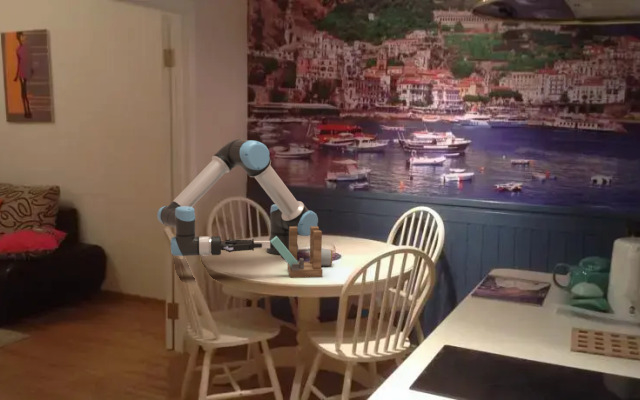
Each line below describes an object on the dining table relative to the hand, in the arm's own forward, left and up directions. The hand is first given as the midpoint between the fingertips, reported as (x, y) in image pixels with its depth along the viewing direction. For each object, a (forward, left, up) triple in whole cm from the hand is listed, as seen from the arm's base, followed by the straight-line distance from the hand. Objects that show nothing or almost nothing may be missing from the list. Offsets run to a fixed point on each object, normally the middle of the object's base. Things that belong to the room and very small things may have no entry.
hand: (270, 244), depth 250 cm
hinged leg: (0, +11, -10) cm, 15 cm away
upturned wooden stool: (-4, +15, -13) cm, 20 cm away
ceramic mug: (-17, +24, -14) cm, 32 cm away
